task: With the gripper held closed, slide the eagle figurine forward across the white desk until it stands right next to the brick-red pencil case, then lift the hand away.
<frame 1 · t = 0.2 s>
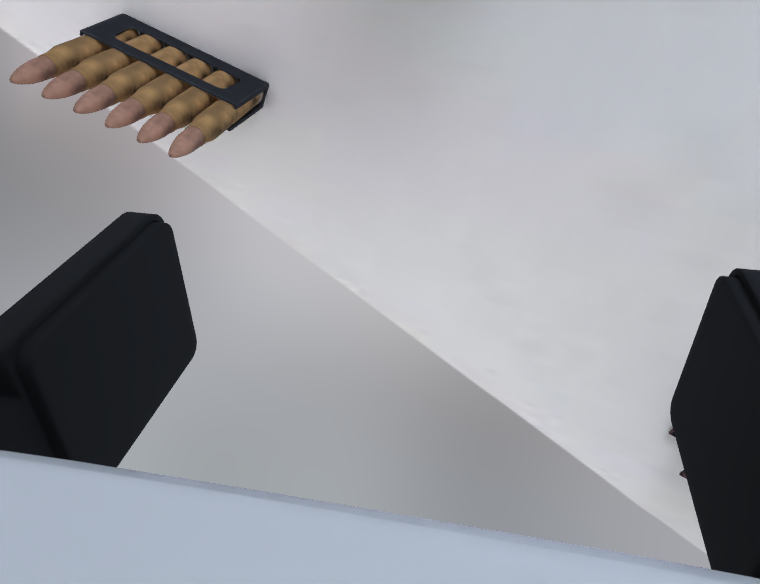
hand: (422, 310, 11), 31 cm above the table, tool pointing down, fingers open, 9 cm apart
ammunition clip: (194, 60, 41), on the table
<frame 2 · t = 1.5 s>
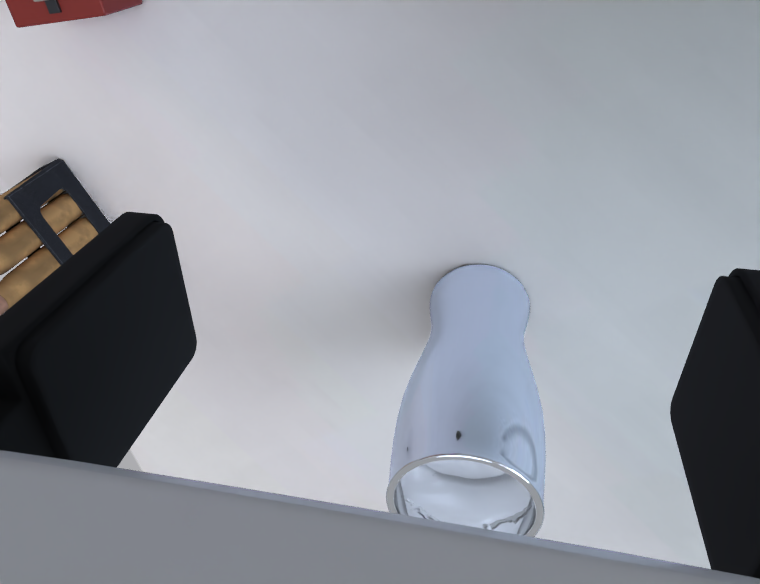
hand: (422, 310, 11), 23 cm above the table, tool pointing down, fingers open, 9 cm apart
ammunition clip: (106, 233, 40), on the table
beer glass: (479, 303, 38), on the table
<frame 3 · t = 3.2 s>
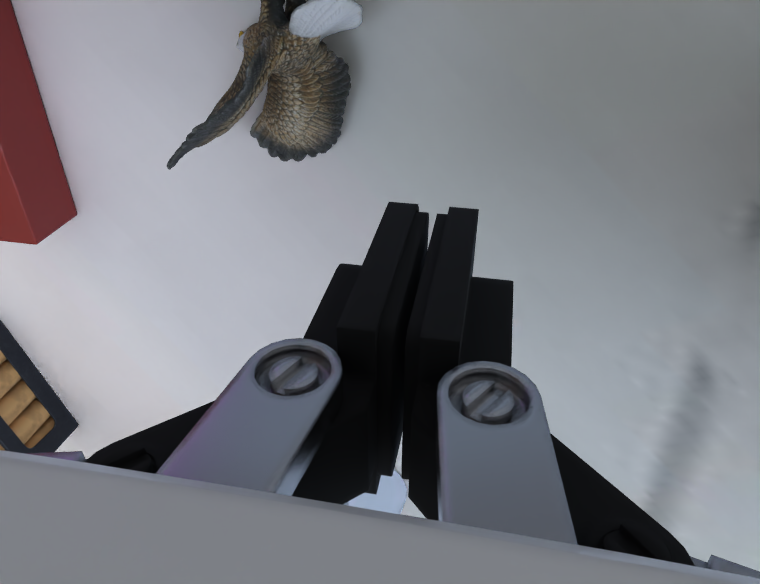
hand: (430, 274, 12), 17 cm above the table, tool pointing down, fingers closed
ammunition clip: (29, 369, 43), on the table
beer glass: (364, 481, 42), on the table
eagle figurine: (288, 55, 27), on the table
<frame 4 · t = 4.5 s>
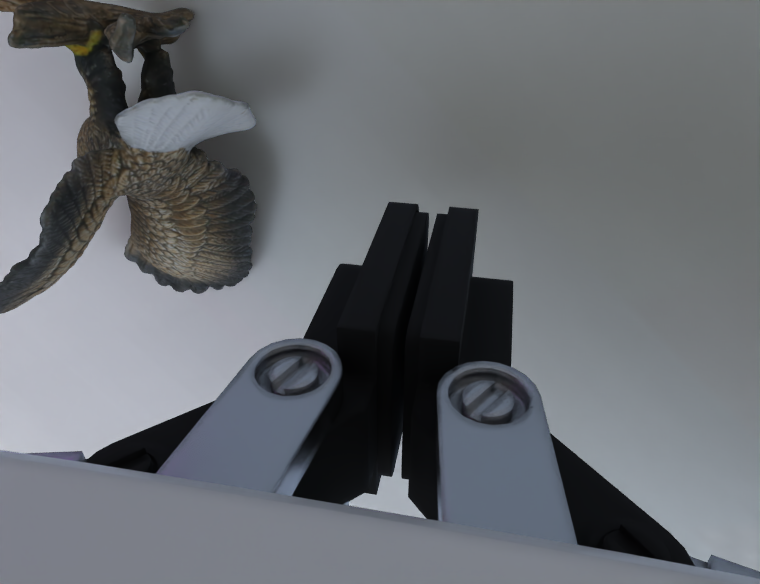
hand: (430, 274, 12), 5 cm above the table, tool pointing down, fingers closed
eagle figurine: (169, 149, 18), on the table
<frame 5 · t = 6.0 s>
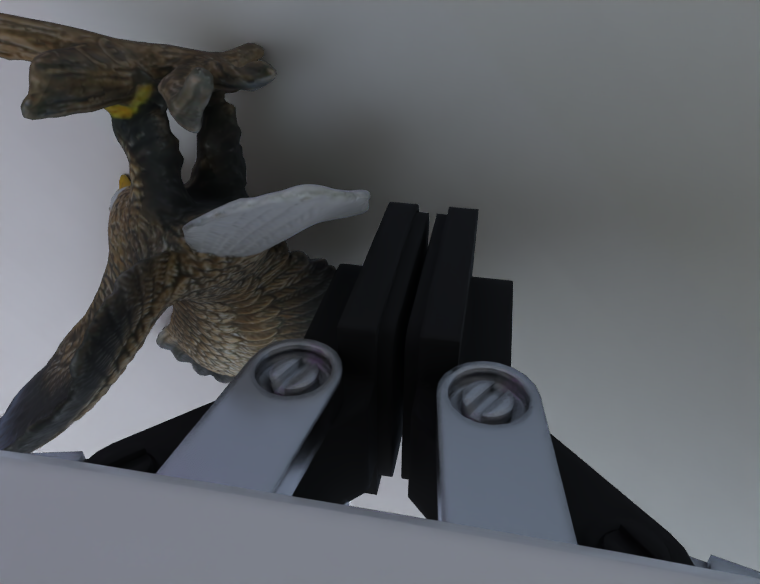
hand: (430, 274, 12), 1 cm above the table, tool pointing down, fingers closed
eagle figurine: (219, 217, 14), on the table, touching gripper
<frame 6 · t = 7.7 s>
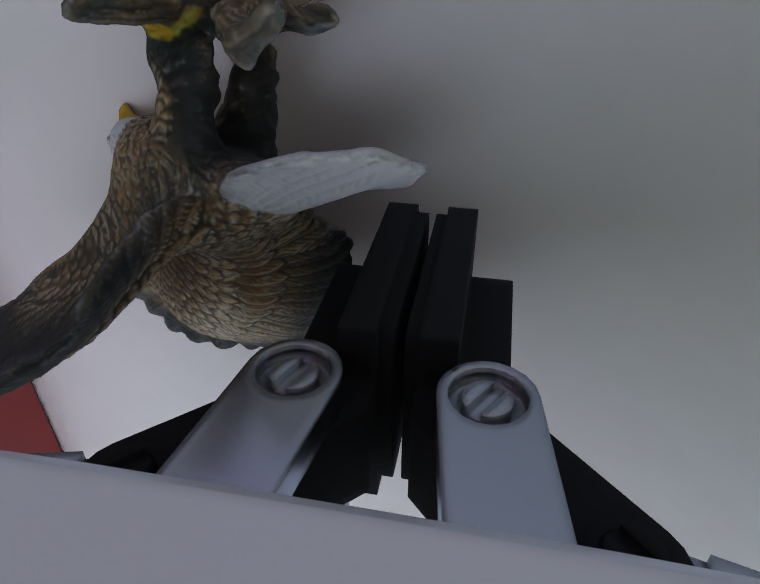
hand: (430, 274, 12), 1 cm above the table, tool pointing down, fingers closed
eagle figurine: (223, 166, 13), on the table, touching gripper
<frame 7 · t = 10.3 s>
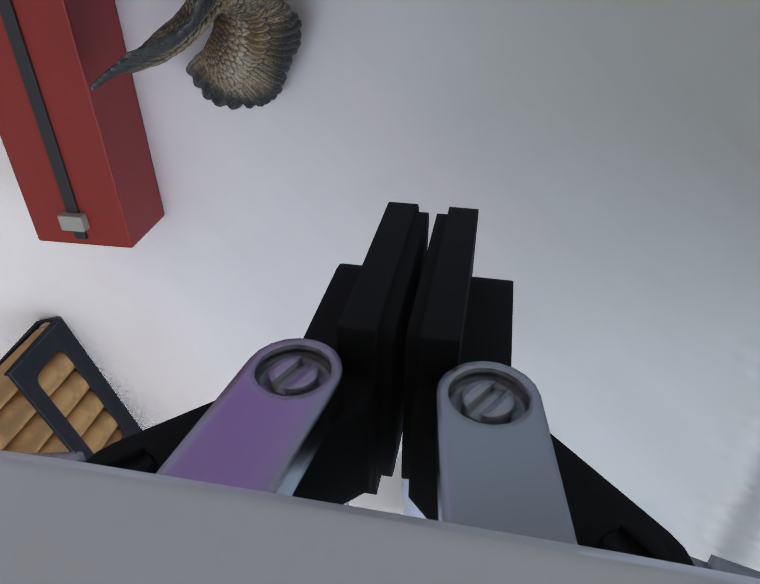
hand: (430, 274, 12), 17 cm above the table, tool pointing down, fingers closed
pencil case: (71, 33, 27), on the table
ammunition clip: (95, 379, 41), on the table
beer glass: (447, 483, 41), on the table
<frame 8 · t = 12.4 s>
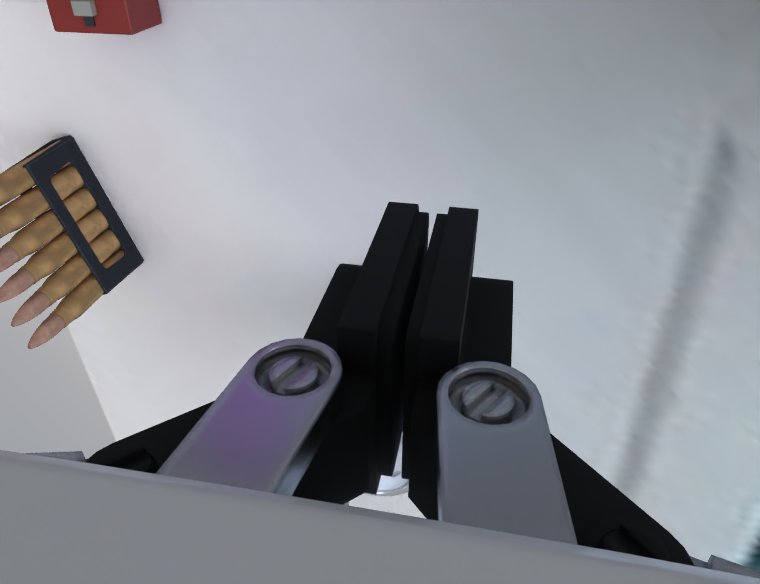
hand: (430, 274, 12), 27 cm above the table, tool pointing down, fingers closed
ammunition clip: (101, 202, 46), on the table
beer glass: (411, 301, 46), on the table
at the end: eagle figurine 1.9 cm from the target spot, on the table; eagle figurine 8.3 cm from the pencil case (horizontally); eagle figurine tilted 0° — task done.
